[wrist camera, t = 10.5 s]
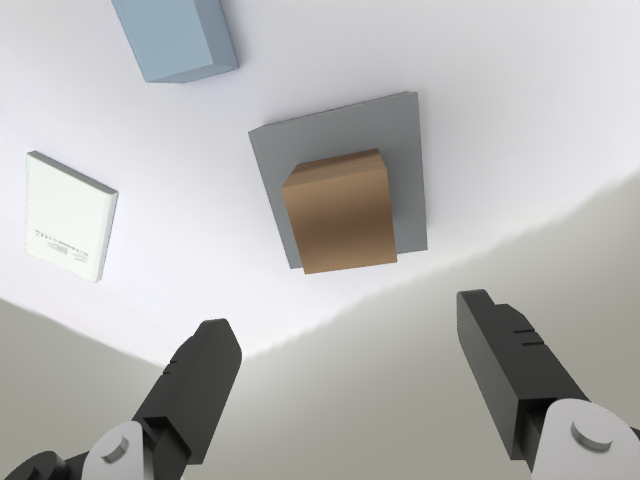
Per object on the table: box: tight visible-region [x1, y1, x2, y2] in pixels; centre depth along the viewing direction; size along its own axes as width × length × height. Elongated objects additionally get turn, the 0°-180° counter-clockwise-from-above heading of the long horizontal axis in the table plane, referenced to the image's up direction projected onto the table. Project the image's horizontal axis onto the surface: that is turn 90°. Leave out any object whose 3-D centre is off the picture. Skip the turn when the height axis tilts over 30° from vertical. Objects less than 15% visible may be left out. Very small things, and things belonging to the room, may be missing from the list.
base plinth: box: [248, 92, 428, 269], centre depth 25 cm, size 12×12×4 cm
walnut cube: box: [281, 148, 397, 274], centre depth 20 cm, size 6×6×6 cm
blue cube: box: [111, 0, 239, 83], centre depth 20 cm, size 5×5×5 cm
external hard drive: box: [25, 151, 118, 283], centre depth 31 cm, size 2×8×12 cm
